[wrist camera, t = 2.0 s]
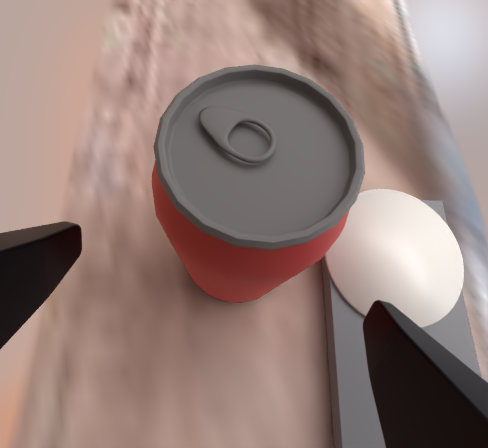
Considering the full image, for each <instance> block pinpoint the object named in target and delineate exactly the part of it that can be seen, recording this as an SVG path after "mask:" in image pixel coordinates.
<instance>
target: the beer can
mask: <svg viewBox="0 0 488 448" xmlns="http://www.w3.org/2000/svg"><path fill="white" fill-rule="evenodd" d="M154 152H155V159H156V160H155V164H154V169H153V173H152V189H153V196H154V203H155V211H156V216H157V218H158V220H159V222H160V223H161V225H162V227H163V229H164V231H165V233H166V235H167V237H168V238H169V240H170V242H171V244H172V246H173V247H174V249H175V251H176V252H177V254H178V255H179V257H180V259H181V260H182V262H183V264H184V265H185V267H186V269H187V270H188V272H189V274H190V275H191V277H192V279H193V280H194V282H195V283H196V284H197V285H198V286H199V287H200V288H201V289H202V290H203V291H204V292H206V293H207V294H208V295H210V296H213V297H215V298H217V299H219V300H222V301H227V302H237V303H241V302H246V301H250V300H254V299H257V298H259V297H261V296H262V295H264V294H265V293H267V292H269V291H270V290H272V289H274V288H275V287H277V286H279V285H280V284H282V283H283V282H285V281H287V280H288V279H290V278H292V277H293V276H295V275H297V274H298V273H300V272H301V271H303V270H305V269H306V268H308V267H309V266H311V265H313V264H314V263H316V262H317V261H319V260H321V259H322V258H323V256H324V255H325V254H326V252H327V251H328V250H329V249H330V247H331V246H332V245H333V244H334V242H335V241H336V240H337V238H338V237H339V236H340V234H341V232H342V230H343V228H344V226H345V223H346V220H347V217H348V214H349V211H350V208H351V207H352V205H353V204H354V203H355V202H356V200H357V197H358V194H359V190H360V187H361V184H362V181H363V178H364V174H365V167H364V150H363V143H362V141H361V139H360V136H359V134H358V131H357V129H356V127H355V124H354V122H353V119H352V118H351V117H350V116H349V114H348V113H347V112H346V111H345V109H344V108H343V107H342V106H341V105H340V103H339V102H338V101H337V100H336V98H335V97H334V96H333V95H331V94H330V93H328V92H327V91H326V90H324V89H323V88H321V87H320V86H319V85H317V84H316V83H314V82H313V81H312V80H310V79H308V78H305V77H303V76H300V75H298V74H295V73H293V72H290V71H288V70H285V69H281V68H274V67H267V66H260V65H248V66H238V67H228V68H224V69H221V70H218V71H216V72H213V73H211V74H208V75H205V76H203V77H200V78H198V79H196V80H195V81H194V82H193V83H191V84H190V85H189V86H187V87H186V88H185V89H183V90H182V91H181V92H179V93H178V94H177V95H176V96H175V97H174V99H173V100H172V102H171V103H170V105H169V106H168V108H167V109H166V111H165V112H164V114H163V115H162V117H161V118H160V122H159V126H158V130H157V134H156V139H155V143H154Z"/></svg>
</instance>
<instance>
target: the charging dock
mask: <svg viewBox="0 0 488 448" xmlns="http://www.w3.org/2000/svg"><path fill="white" fill-rule="evenodd" d="M322 271H323V286H324V301H325V317H326V332H327V347H328V362H329V377H330V392H331V407H332V422H333V437H334V448H386V446H385V442H384V438H383V433H382V429H381V425H380V421H379V417H378V412H377V408H376V404H375V400H374V396H373V391H372V387H371V383H370V378H369V372H368V366H367V358H366V350H365V342H364V334H363V321H364V318H365V316H366V315H367V313H368V311H369V309H370V308H371V306H372V304H373V302H374V301H376V300H381V301H385V302H389V303H391V304H393V305H394V306H395V307H396V308H397V309H399V310H400V311H401V312H402V313H404V314H405V315H406V316H407V317H408V318H410V319H411V320H412V321H413V322H414V323H416V324H417V325H418V326H419V327H421V328H422V329H423V330H424V331H425V332H427V333H428V334H429V335H430V336H431V337H433V338H434V339H435V340H436V341H437V342H439V343H440V344H441V345H442V346H444V347H445V348H446V349H447V350H448V351H450V352H451V353H452V354H453V355H454V356H456V357H457V358H458V359H459V360H461V361H462V362H463V363H464V364H465V365H467V366H468V367H469V368H470V369H471V370H473V371H474V372H475V373H476V374H478V375H479V376H480V377H481V372H480V368H479V364H478V359H477V355H476V350H475V346H474V341H473V337H472V332H471V328H470V323H469V319H468V315H467V310H466V306H465V301H464V297H463V292H462V286H463V278H464V266H463V260H462V255H461V251H460V248H459V246H458V243H457V241H456V239H455V237H454V235H453V233H452V231H451V230H450V228H449V227H448V225H447V221H446V217H445V212H444V208H443V203H442V201H432V200H419V199H417V198H415V197H413V196H411V195H408V194H406V193H403V192H399V191H395V190H389V189H374V190H367V191H364V192H361V193H359V194H358V197H357V200H356V202H355V203H354V204H353V205H352V207H351V208H350V211H349V214H348V217H347V220H346V223H345V226H344V228H343V230H342V232H341V234H340V236H339V237H338V238H337V240H336V241H335V242H334V244H333V245H332V246H331V247H330V249H329V250H328V251H327V252H326V254H325V255H324V256H323V258H322ZM481 378H482V377H481Z"/></svg>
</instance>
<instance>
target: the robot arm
mask: <svg viewBox="0 0 488 448" xmlns="http://www.w3.org/2000/svg"><path fill="white" fill-rule="evenodd" d="M81 251H82V235H81V227H80V226H79V225H78V224H74V223H70V222H59V223H54V224H49V225H42V226H37V227H32V228H26V229H21V230H15V231H10V232H4V233H0V349H1V348H2V347H3V346H4V345H5V344H6V343H7V342H8V340H9V339H10V338H11V337H12V336H13V335H14V334H15V333H16V332H17V331H18V330H19V329H20V328H21V326H22V325H23V324H24V323H25V322H26V321H27V320H28V319H29V318H30V317H31V316H32V315H33V313H34V312H35V311H36V310H37V309H38V308H39V307H40V306H41V305H42V304H43V303H44V301H45V300H46V299H47V298H48V297H49V296H50V294H51V293H52V292H53V291H54V289H55V288H56V287H57V285H58V284H59V283H60V281H61V280H62V279H63V277H64V276H65V275H66V273H67V272H68V271H69V269H70V268H71V267H72V265H73V264H74V263H75V261H76V260H77V259H78V257H79V256H80V254H81ZM363 334H364V342H365V350H366V358H367V366H368V372H369V378H370V383H371V387H372V391H373V396H374V400H375V404H376V408H377V412H378V417H379V421H380V425H381V429H382V433H383V438H384V442H385V446H386V448H488V383H487V382H486V381H485V380H484V379H482V378H481V377H480V376H479V375H478V374H476V373H475V372H474V371H473V370H471V369H470V368H469V367H468V366H467V365H465V364H464V363H463V362H462V361H461V360H459V359H458V358H457V357H456V356H454V355H453V354H452V353H451V352H450V351H448V350H447V349H446V348H445V347H444V346H442V345H441V344H440V343H439V342H437V341H436V340H435V339H434V338H433V337H431V336H430V335H429V334H428V333H427V332H425V331H424V330H423V329H422V328H421V327H419V326H418V325H417V324H416V323H414V322H413V321H412V320H411V319H410V318H408V317H407V316H406V315H405V314H404V313H402V312H401V311H400V310H399V309H397V308H396V307H395V306H394V305H393V304H391V303H389V302H385V301H381V300H376V301H374V302H373V304H372V306H371V308H370V309H369V311H368V313H367V315H366V316H365V318H364V321H363Z"/></svg>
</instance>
